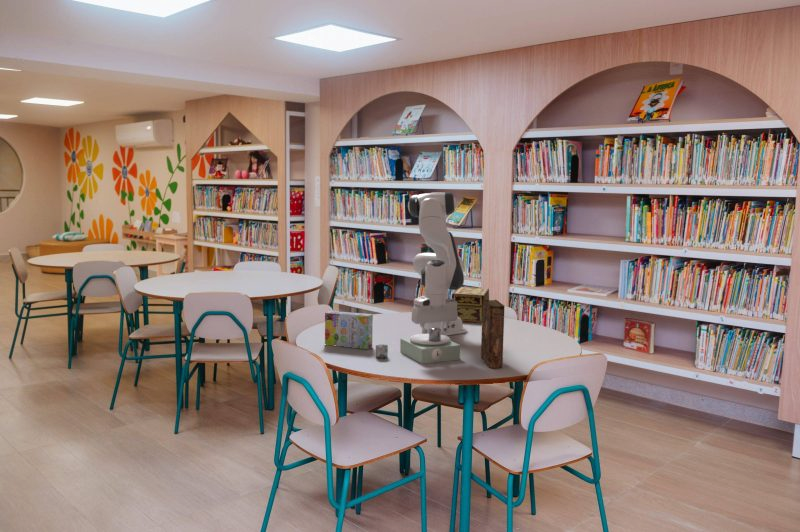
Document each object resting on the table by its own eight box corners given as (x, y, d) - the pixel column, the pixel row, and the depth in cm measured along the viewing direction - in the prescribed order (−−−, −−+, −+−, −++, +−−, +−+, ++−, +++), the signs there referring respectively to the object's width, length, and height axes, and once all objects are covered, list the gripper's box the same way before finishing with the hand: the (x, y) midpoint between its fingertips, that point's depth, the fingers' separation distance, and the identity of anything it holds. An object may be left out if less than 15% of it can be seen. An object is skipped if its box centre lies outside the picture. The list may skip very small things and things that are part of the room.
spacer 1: (384, 355, 270) (384, 343, 270) (389, 358, 266) (389, 346, 265) (373, 356, 268) (373, 344, 268) (378, 359, 264) (378, 347, 263)
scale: (436, 348, 284) (437, 331, 283) (460, 359, 265) (461, 342, 264) (400, 351, 276) (400, 334, 275) (422, 364, 258) (422, 346, 257)
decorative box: (457, 311, 368) (458, 286, 366) (489, 313, 364) (490, 287, 362) (449, 321, 342) (449, 293, 340) (484, 323, 337) (485, 295, 336)
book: (503, 368, 253) (505, 306, 250) (489, 368, 253) (491, 306, 250) (493, 357, 269) (495, 299, 266) (480, 357, 269) (482, 299, 266)
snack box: (372, 347, 284) (373, 313, 283) (368, 350, 279) (368, 316, 277) (329, 342, 291) (329, 310, 289) (324, 345, 286) (324, 312, 284)
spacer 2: (437, 338, 270) (437, 326, 269) (442, 341, 266) (443, 329, 265) (426, 339, 268) (426, 327, 267) (432, 342, 263) (432, 330, 263)
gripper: (453, 297, 272) (452, 328, 274) (410, 300, 263) (409, 333, 265) (461, 299, 266) (460, 332, 268) (417, 302, 258) (416, 336, 259)
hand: (434, 332), depth 266 cm, fingers open, 8 cm apart
